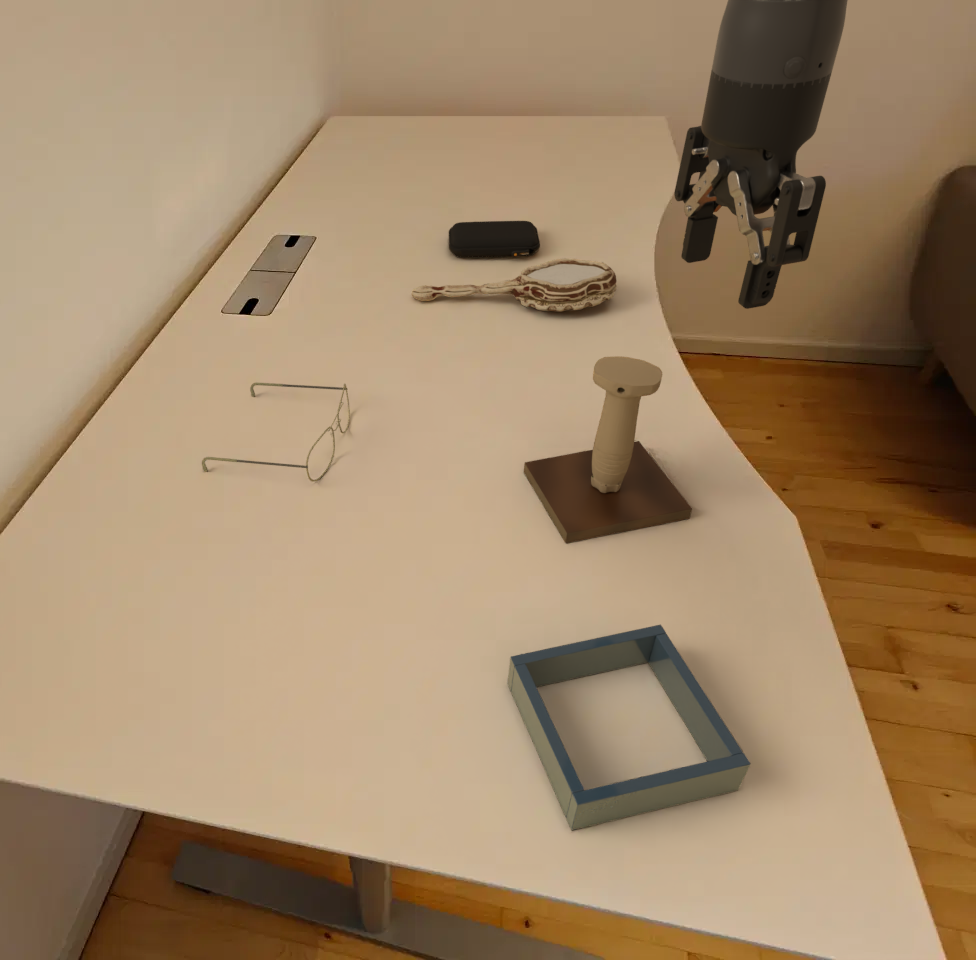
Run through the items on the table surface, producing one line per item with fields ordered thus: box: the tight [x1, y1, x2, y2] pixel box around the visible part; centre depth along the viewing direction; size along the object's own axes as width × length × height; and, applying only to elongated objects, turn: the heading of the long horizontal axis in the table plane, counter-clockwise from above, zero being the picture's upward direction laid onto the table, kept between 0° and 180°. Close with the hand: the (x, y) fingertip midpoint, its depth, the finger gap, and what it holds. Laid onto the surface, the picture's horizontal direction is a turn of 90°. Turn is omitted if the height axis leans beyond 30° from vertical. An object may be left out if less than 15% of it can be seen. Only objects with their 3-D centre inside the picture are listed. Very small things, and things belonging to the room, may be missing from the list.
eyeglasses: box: [201, 382, 351, 482], centre depth 103 cm, size 16×15×5 cm
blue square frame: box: [506, 624, 752, 831], centre depth 69 cm, size 14×14×4 cm
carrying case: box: [448, 220, 541, 259], centre depth 139 cm, size 11×3×15 cm
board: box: [523, 440, 693, 544], centre depth 93 cm, size 14×12×2 cm
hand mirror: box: [411, 258, 618, 312], centre depth 125 cm, size 11×6×30 cm
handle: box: [591, 355, 663, 493], centre depth 87 cm, size 5×6×15 cm
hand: (722, 281), depth 67 cm, fingers open, 8 cm apart
